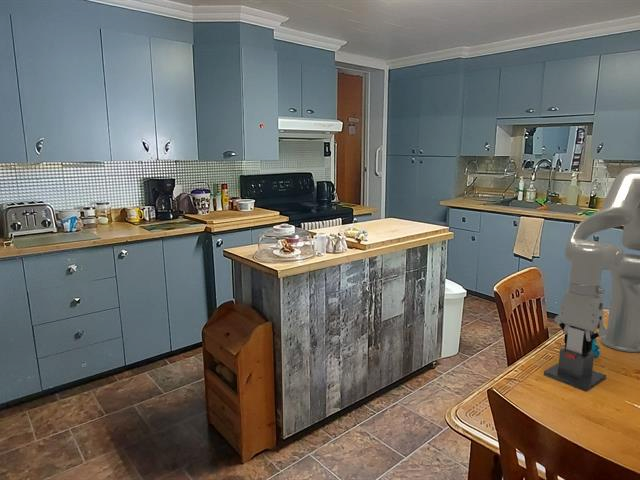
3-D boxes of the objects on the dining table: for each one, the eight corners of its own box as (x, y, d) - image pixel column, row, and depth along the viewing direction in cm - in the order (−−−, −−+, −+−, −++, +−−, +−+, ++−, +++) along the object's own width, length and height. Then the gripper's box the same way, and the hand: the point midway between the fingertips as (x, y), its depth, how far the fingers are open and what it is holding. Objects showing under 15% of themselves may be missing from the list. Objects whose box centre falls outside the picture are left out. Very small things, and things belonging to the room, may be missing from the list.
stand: (563, 363, 138) (565, 339, 136) (605, 378, 128) (608, 352, 127) (543, 374, 131) (545, 349, 129) (586, 391, 121) (589, 364, 120)
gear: (591, 357, 138) (572, 328, 144) (575, 364, 142) (557, 336, 148) (608, 353, 144) (590, 325, 150) (593, 361, 148) (575, 333, 153)
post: (570, 367, 132) (575, 323, 130) (586, 373, 129) (591, 328, 126) (563, 371, 130) (567, 326, 127) (579, 377, 126) (584, 331, 124)
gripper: (622, 293, 120) (615, 356, 124) (560, 280, 134) (554, 337, 137) (611, 299, 116) (603, 363, 119) (547, 284, 129) (541, 343, 133)
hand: (577, 348), depth 128 cm, fingers closed on post, 4 cm apart
